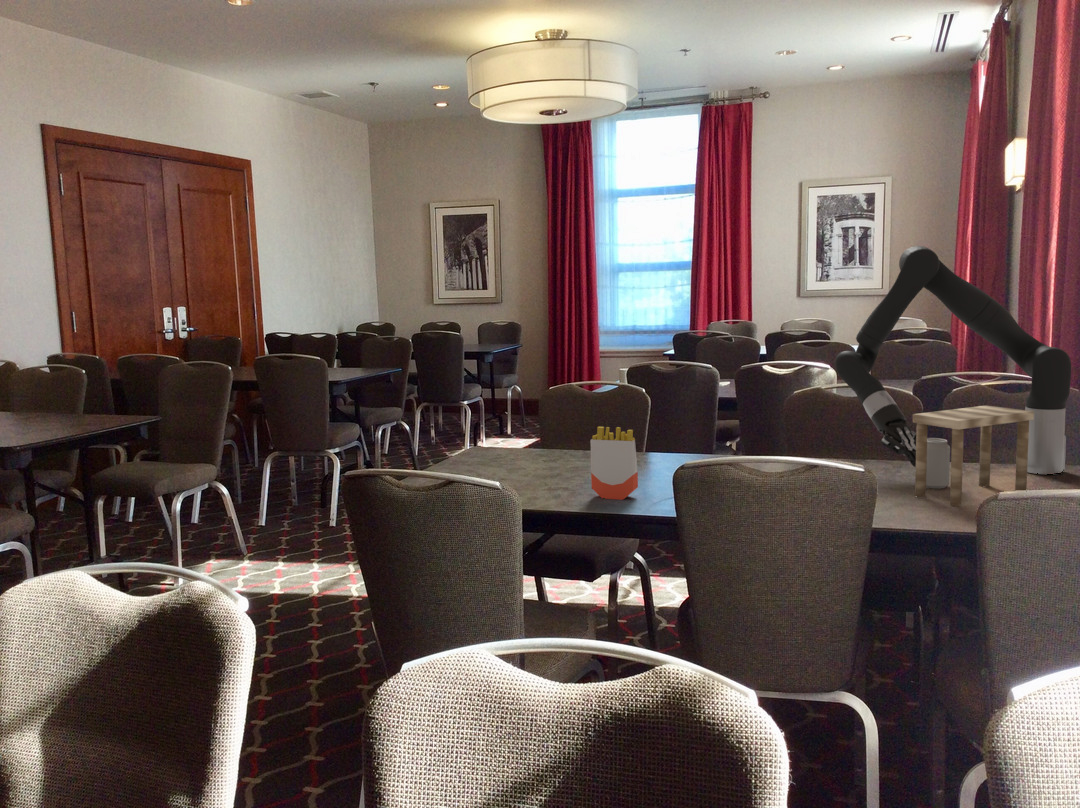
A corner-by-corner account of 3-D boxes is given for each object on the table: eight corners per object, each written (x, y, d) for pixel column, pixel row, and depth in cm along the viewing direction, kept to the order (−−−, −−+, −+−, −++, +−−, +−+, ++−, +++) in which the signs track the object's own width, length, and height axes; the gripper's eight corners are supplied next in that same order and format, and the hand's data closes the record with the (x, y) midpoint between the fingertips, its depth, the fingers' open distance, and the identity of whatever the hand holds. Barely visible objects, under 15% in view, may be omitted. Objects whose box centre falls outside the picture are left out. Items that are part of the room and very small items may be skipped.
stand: (983, 483, 222) (985, 405, 220) (1030, 493, 211) (1034, 411, 208) (910, 496, 212) (912, 414, 210) (956, 507, 200) (959, 420, 198)
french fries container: (597, 493, 225) (595, 424, 223) (638, 496, 221) (637, 425, 219) (591, 497, 221) (590, 427, 219) (633, 500, 217) (632, 428, 214)
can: (953, 489, 217) (954, 441, 216) (921, 489, 218) (922, 442, 217) (943, 483, 225) (944, 436, 223) (912, 483, 226) (913, 436, 224)
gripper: (872, 405, 229) (908, 459, 219) (910, 401, 234) (946, 453, 225) (857, 422, 234) (891, 476, 225) (894, 418, 239) (929, 470, 230)
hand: (919, 464), depth 225 cm, fingers closed
